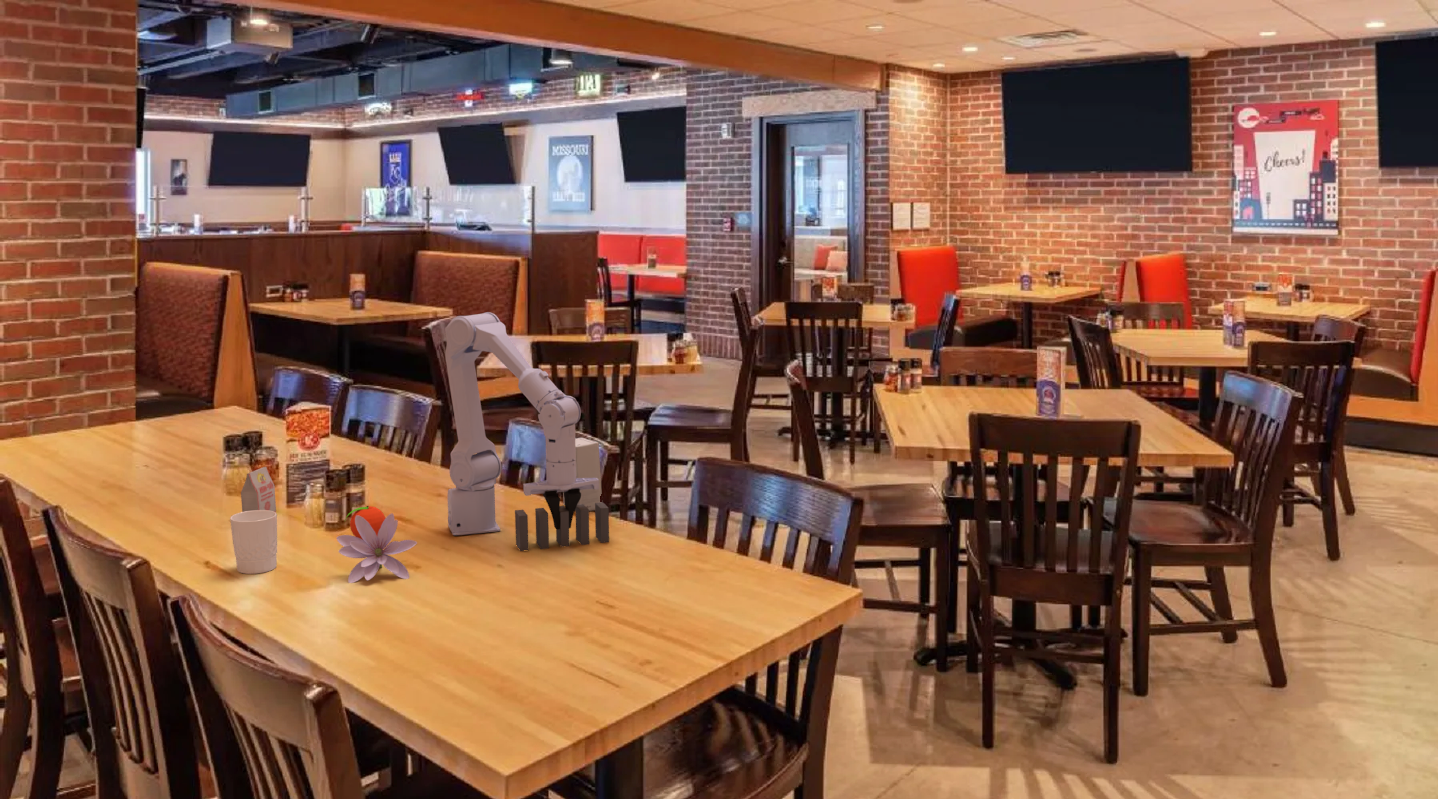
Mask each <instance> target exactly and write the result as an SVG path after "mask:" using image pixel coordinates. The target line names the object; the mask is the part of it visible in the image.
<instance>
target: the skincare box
mask: <svg viewBox="0 0 1438 799" xmlns="http://www.w3.org/2000/svg"><path fill="white" fill-rule="evenodd" d="M599 444H600V443H599V442H597V441H594V440H590V439H587V438H584V437H578V438H575V447H576V478H597V479H598V480H599V489H596V490H594V489H586V490H580V493H581V498H580V500H579V502H578V504H584V505H585V506H586V507H587V508H588V509H589V512H590V511H591V512H592V511H595V503H600V496H601V494H603V493H602V476H601V461H600V460H601V457H600V445H599ZM562 495H563V496H562V500H563V506H564V505H565V501H564V492H562ZM578 504H577V505H578Z"/></svg>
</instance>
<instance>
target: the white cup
mask: <svg viewBox="0 0 1438 799" xmlns="http://www.w3.org/2000/svg"><path fill="white" fill-rule="evenodd" d="M277 518H278V515H277V511H276V512H274V511H269V510H253V511H245V512H242V511H240V512H237V513H234V514H233V515H231V516H230V517H229V520H230V521H229V522H230V527H231V536H232V544H233V545H232V546H233V551H234V552H233V553H234V557H235V563H236V564H235V565H236V570H237V572H239V573H241V574H247V575H250V574H251V575H254V574H255V575H256V574H263V573H267V572H270V571H272V570H274V569H276V568H277V566H278V565H277V562H278V561H277V553H278V519H277Z"/></svg>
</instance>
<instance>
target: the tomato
mask: <svg viewBox="0 0 1438 799" xmlns="http://www.w3.org/2000/svg"><path fill="white" fill-rule="evenodd" d="M352 513H353V514H352ZM350 515H352V516H351V517H350V522H349V527H350V531H351V533H352V536H355V537H358V538H360V539H362V537H361V535H360V534H359V532H358V530H357V528H356V524H355V517H356V515H358V516H361V517H363V518H364V519H365V520H366V521H367V522H368V523H369V524H370V526H371V527H372V529H373V530H374V531H375V533H376V535H378V532H379V529H380V528H381V525H382V523H383V521H384V520H385V518H386V516H385V514H384V513H383V511H382V510H380V509H379V508H377V507H376V506H371V505H366V506H361V507H357V508H355V509H353V510H351V511H350V512H349V513H347V515H346V516H345V519H344V521H346V519H347V517H349V516H350ZM362 540H363V539H362Z"/></svg>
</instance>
